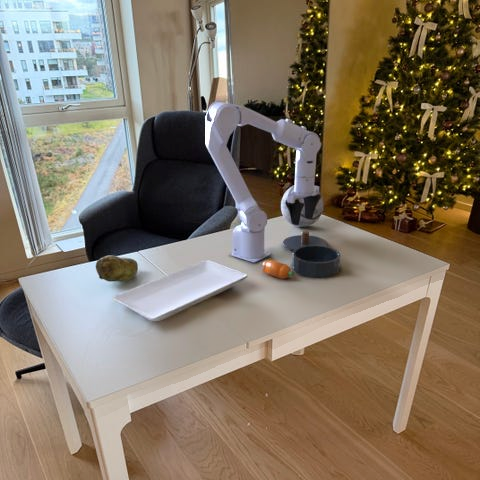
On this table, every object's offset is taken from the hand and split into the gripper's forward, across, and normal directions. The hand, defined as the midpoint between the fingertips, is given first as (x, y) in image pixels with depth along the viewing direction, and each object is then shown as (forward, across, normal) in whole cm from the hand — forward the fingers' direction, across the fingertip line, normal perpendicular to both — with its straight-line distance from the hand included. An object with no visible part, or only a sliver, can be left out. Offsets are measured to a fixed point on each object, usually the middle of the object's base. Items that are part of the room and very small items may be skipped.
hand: (302, 221), depth 136 cm
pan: (+9, -9, -11) cm, 17 cm away
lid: (+9, +4, +1) cm, 10 cm away
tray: (+10, -45, +6) cm, 47 cm away
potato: (+10, -49, +27) cm, 57 cm away
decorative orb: (+10, +20, +13) cm, 25 cm away
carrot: (+9, -20, -5) cm, 23 cm away
